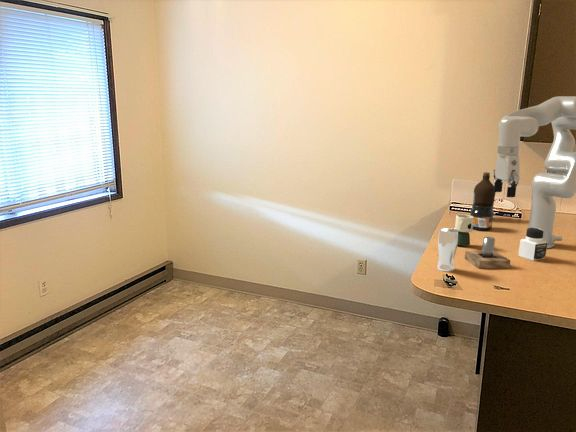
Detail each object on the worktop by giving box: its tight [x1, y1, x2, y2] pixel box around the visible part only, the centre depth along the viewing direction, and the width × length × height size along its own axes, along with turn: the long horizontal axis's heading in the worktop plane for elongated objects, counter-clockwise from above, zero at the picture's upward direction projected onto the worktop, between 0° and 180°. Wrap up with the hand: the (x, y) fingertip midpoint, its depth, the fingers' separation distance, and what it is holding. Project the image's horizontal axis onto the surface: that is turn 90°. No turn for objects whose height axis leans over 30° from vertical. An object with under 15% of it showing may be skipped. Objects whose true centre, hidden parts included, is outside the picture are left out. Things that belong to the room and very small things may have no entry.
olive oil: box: [472, 171, 497, 212], centre depth 261 cm, size 11×11×25 cm
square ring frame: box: [464, 250, 511, 269], centre depth 191 cm, size 12×12×3 cm
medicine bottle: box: [518, 227, 548, 262], centre depth 198 cm, size 7×7×12 cm
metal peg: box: [481, 236, 496, 258], centre depth 190 cm, size 4×4×10 cm
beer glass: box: [436, 227, 458, 273], centre depth 182 cm, size 7×7×15 cm
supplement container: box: [469, 203, 494, 232], centre depth 243 cm, size 10×10×12 cm
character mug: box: [454, 214, 474, 247], centre depth 213 cm, size 11×7×13 cm, turn 145°
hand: (504, 194), depth 195 cm, fingers open, 9 cm apart
